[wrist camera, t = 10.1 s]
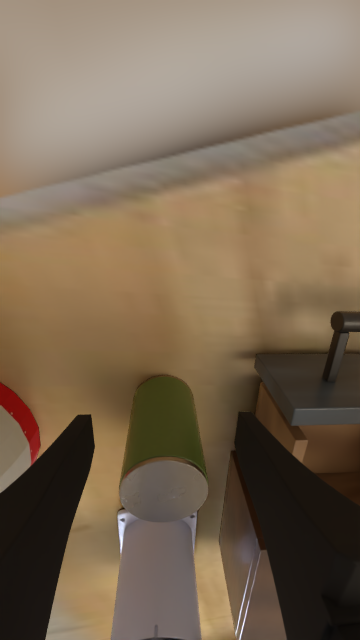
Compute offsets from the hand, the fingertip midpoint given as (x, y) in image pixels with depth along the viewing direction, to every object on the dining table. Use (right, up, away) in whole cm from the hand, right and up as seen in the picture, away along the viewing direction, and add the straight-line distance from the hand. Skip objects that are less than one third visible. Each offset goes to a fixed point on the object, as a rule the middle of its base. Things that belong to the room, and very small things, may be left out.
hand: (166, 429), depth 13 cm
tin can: (-1, -1, +9) cm, 9 cm away
